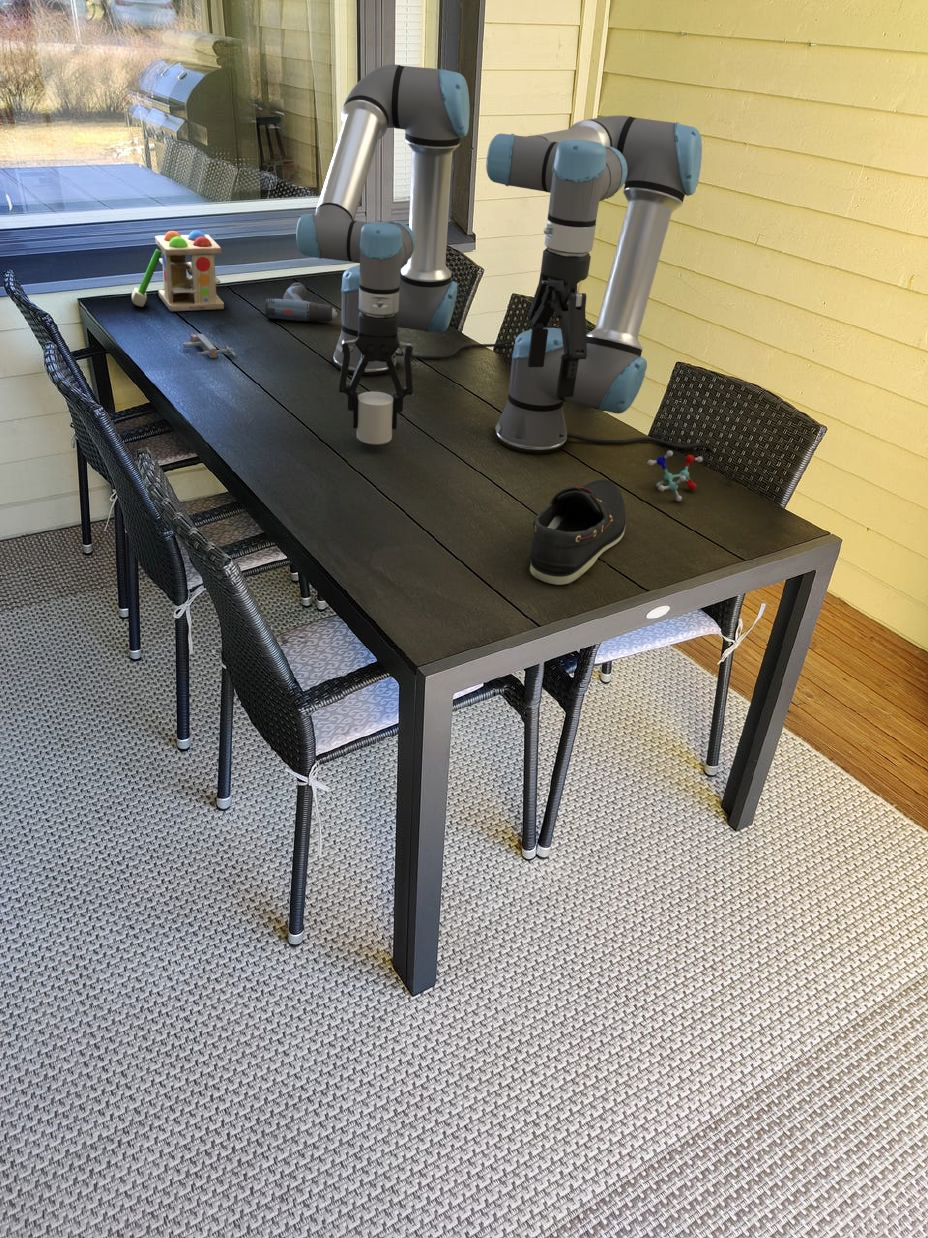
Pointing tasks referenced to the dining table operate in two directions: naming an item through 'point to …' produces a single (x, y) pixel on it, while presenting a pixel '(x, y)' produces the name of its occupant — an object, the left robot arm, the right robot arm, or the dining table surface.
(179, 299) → the pounding bench toy
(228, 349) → the clamp
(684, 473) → the molecular model
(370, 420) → the can
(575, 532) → the boat shoe
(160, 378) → the dining table surface
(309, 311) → the power drill
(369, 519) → the dining table surface
